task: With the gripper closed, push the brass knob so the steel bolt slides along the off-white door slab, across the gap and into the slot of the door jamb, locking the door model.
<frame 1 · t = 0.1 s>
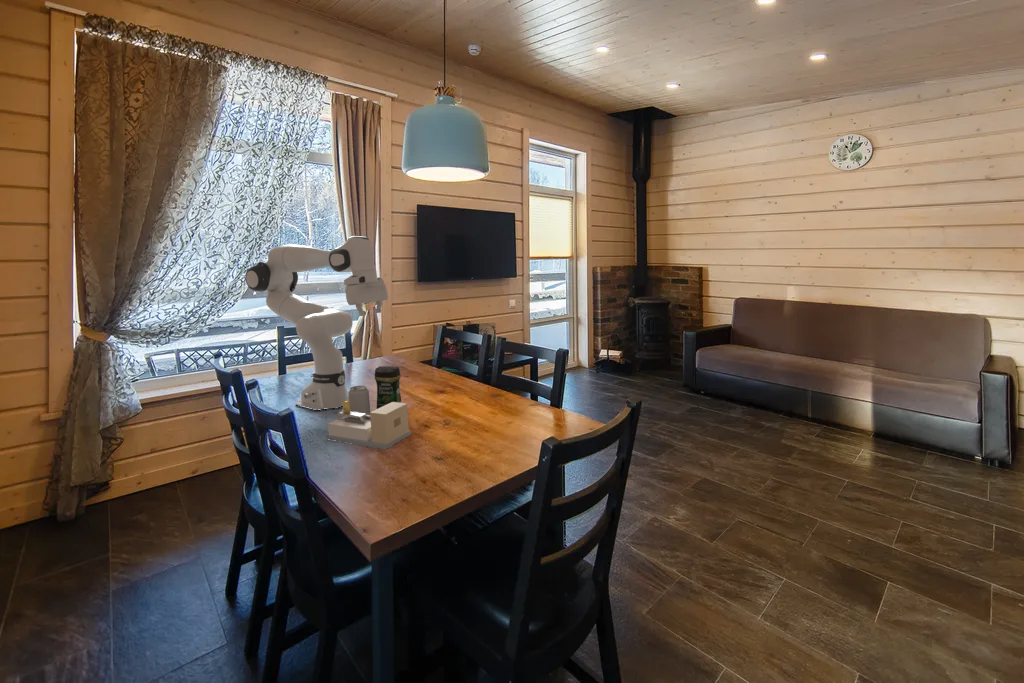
hand: (370, 314, 189), 39 cm above the table, tool pointing down, fingers open, 8 cm apart
bolt: (351, 410, 168), point 9 cm above the table, slide at 0.0 cm
can: (360, 417, 188), on the table
coffee jar: (389, 412, 194), on the table
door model: (369, 437, 167), on the table
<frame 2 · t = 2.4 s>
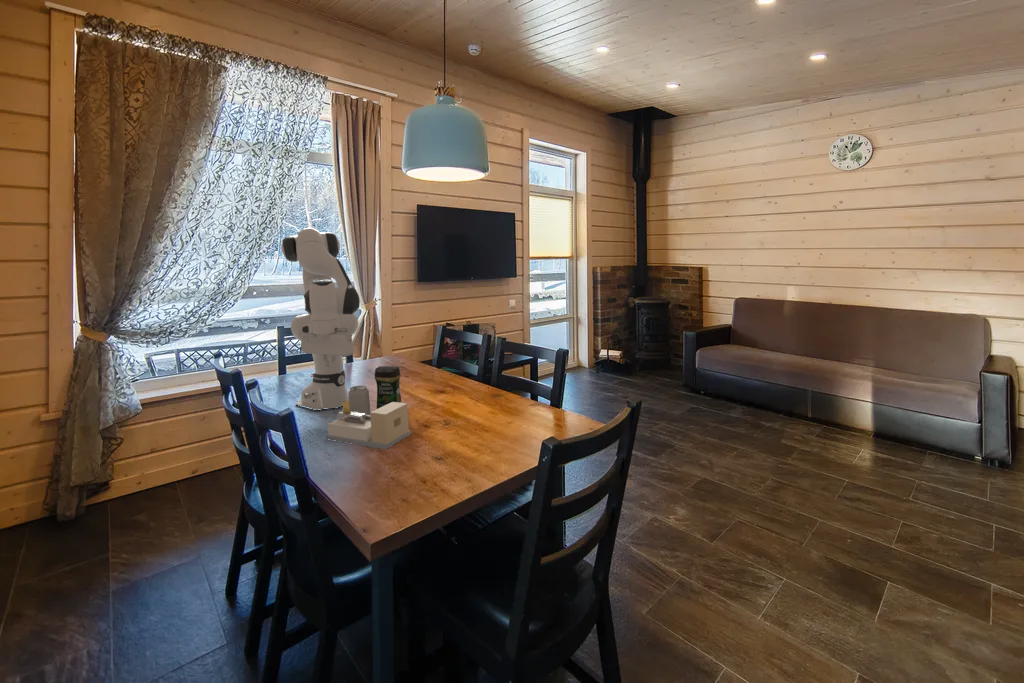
hand: (329, 367, 169), 24 cm above the table, tool pointing down, fingers closed
nothing on the table moved.
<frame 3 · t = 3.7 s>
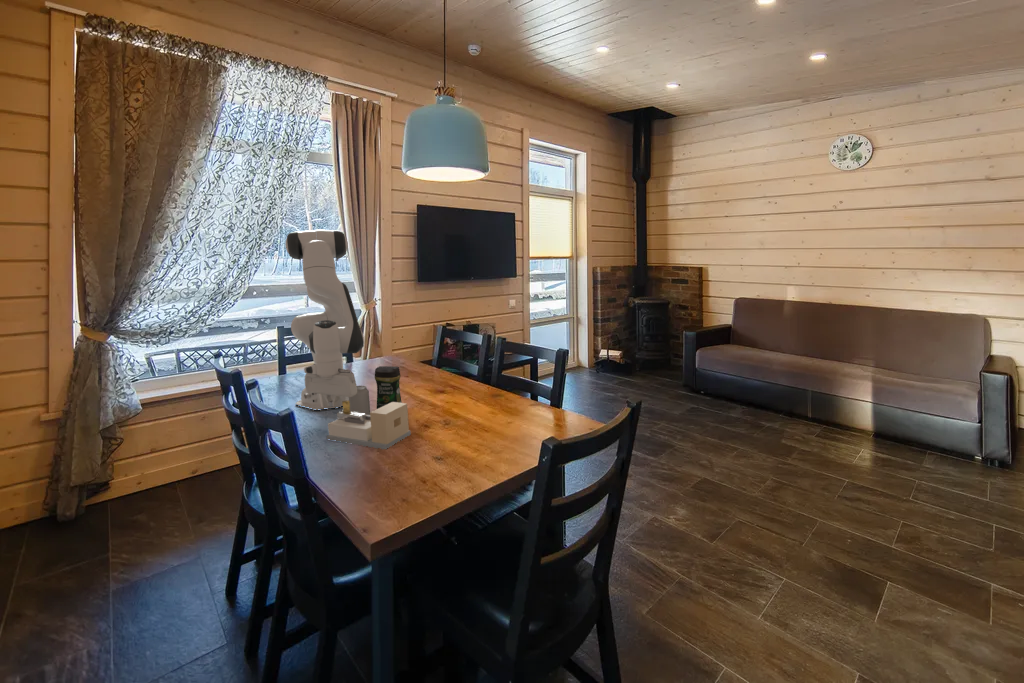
hand: (332, 406, 171), 9 cm above the table, tool pointing down, fingers closed
nothing on the table moved.
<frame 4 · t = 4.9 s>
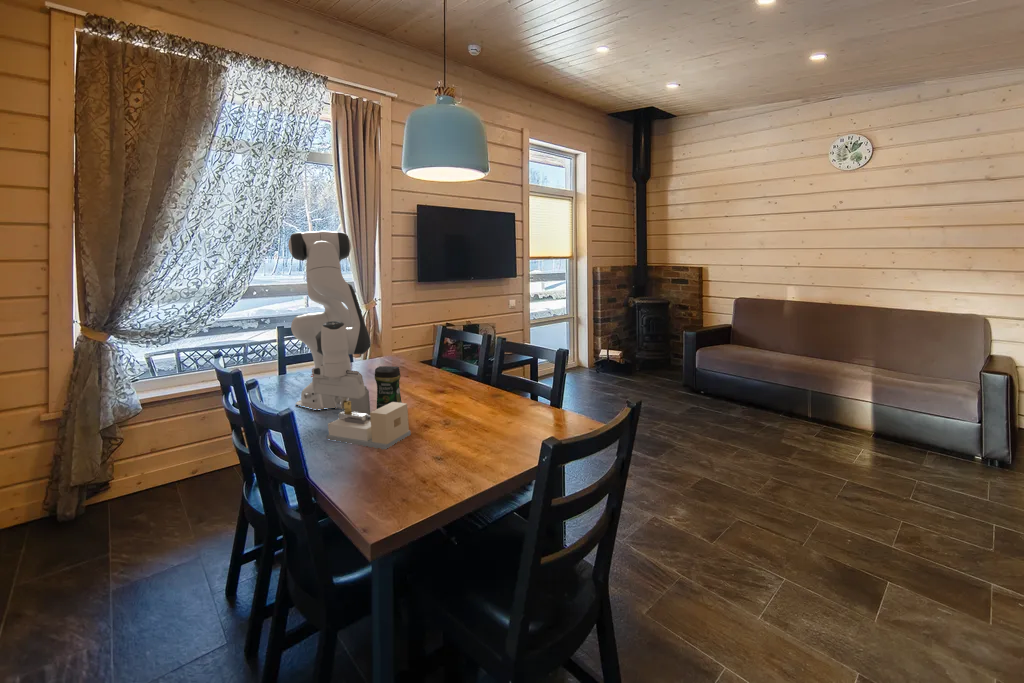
hand: (340, 408, 170), 9 cm above the table, tool pointing down, fingers closed
bolt: (352, 410, 168), point 9 cm above the table, slide at 0.7 cm, touching gripper
everything else where it was.
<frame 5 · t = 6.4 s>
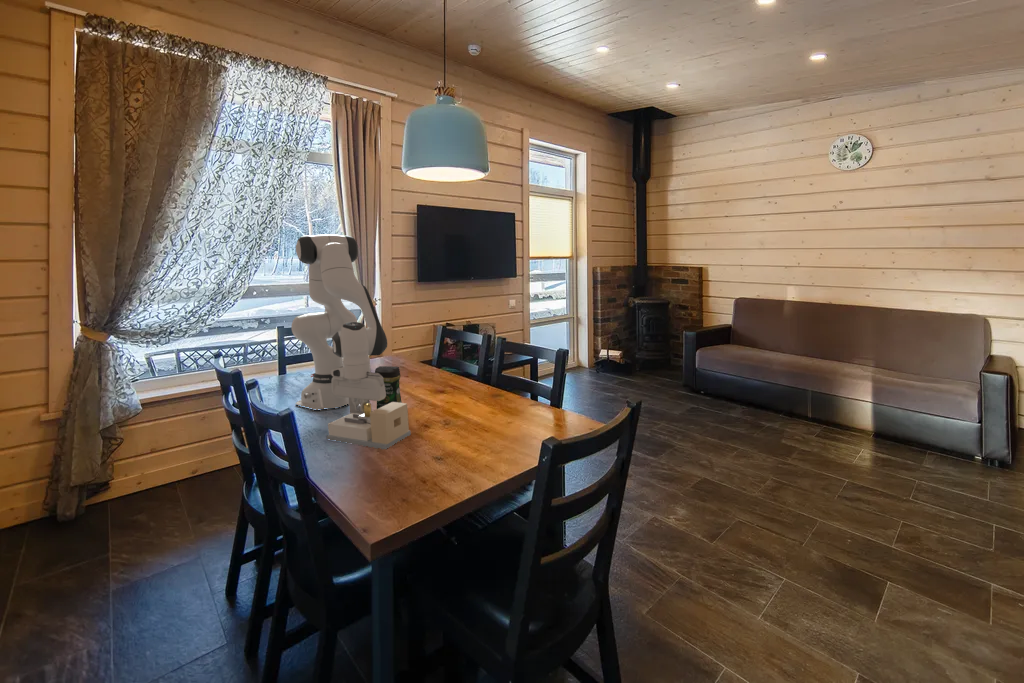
hand: (360, 410, 167), 9 cm above the table, tool pointing down, fingers closed
bolt: (372, 413, 165), point 9 cm above the table, slide at 9.1 cm, touching gripper
everything else where it was.
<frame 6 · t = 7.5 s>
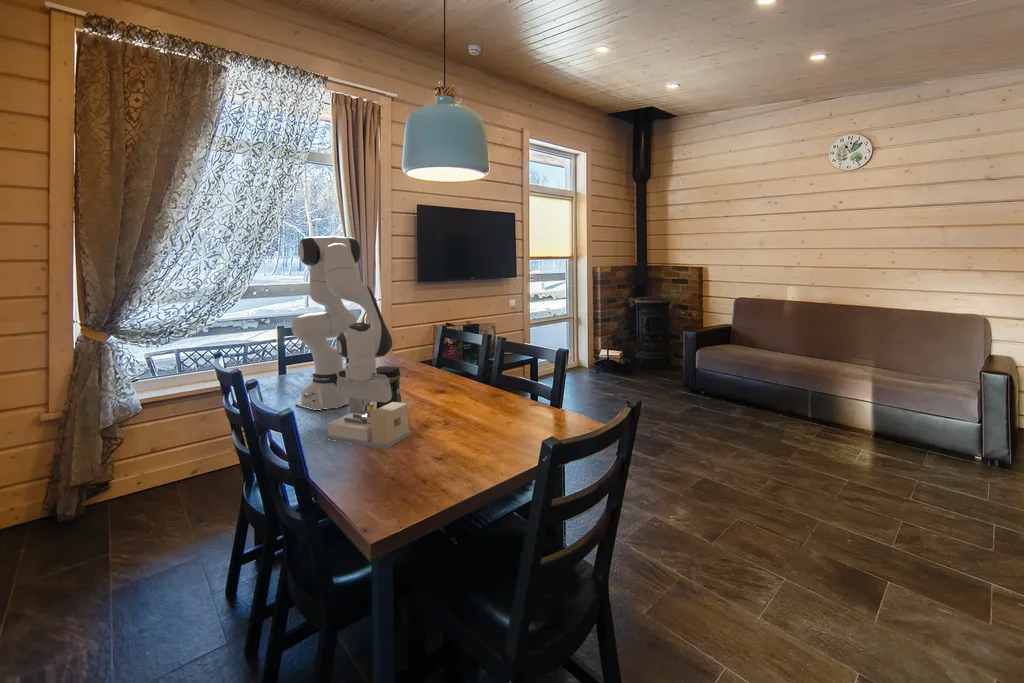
hand: (365, 411, 166), 9 cm above the table, tool pointing down, fingers closed, pressing on bolt
bolt: (375, 413, 164), point 9 cm above the table, slide at 10.3 cm, touching gripper
everything else where it was.
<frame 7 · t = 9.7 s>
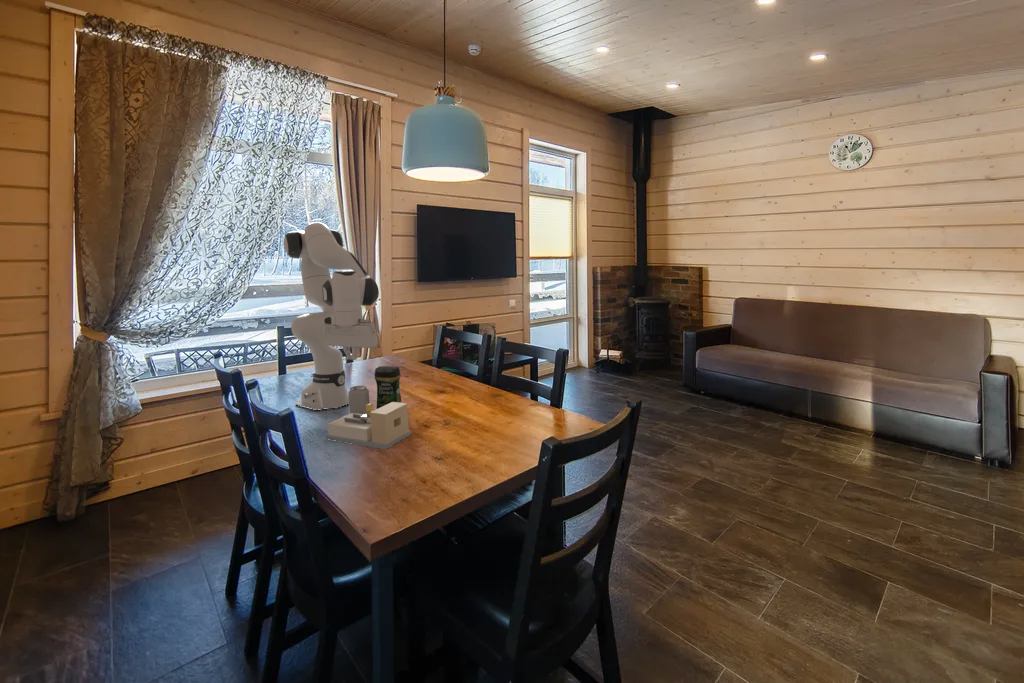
hand: (351, 359, 165), 27 cm above the table, tool pointing down, fingers closed
bolt: (374, 413, 165), point 9 cm above the table, slide at 10.0 cm
everything else where it was.
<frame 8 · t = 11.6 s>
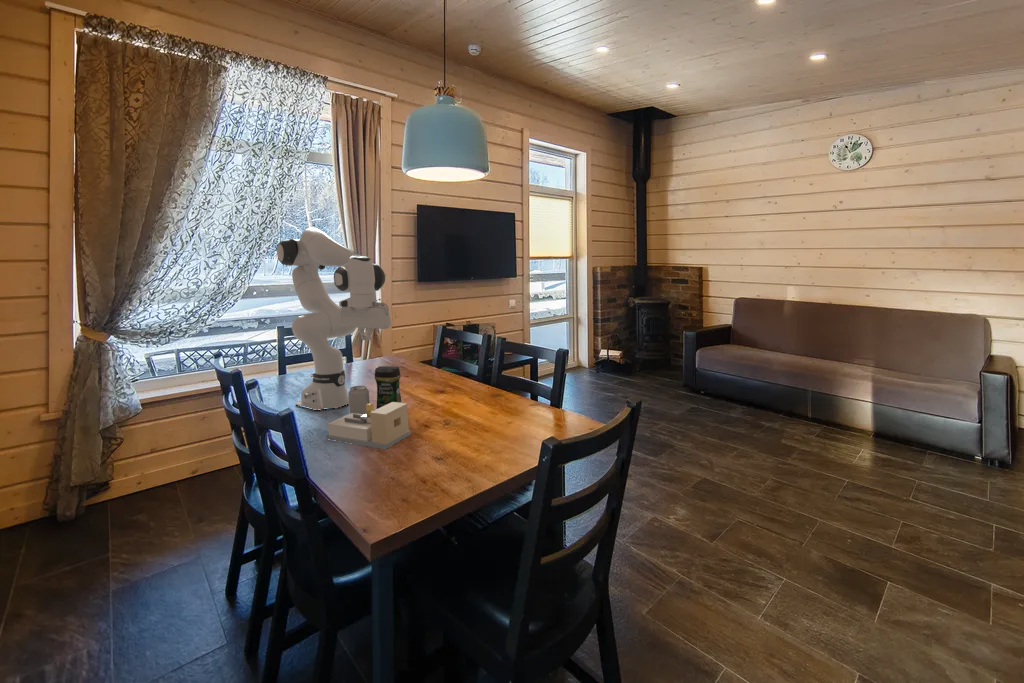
hand: (366, 340, 177), 31 cm above the table, tool pointing down, fingers closed
nothing on the table moved.
at the end: bolt slide at 10.0 cm; can moved 0.2 cm from its start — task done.
